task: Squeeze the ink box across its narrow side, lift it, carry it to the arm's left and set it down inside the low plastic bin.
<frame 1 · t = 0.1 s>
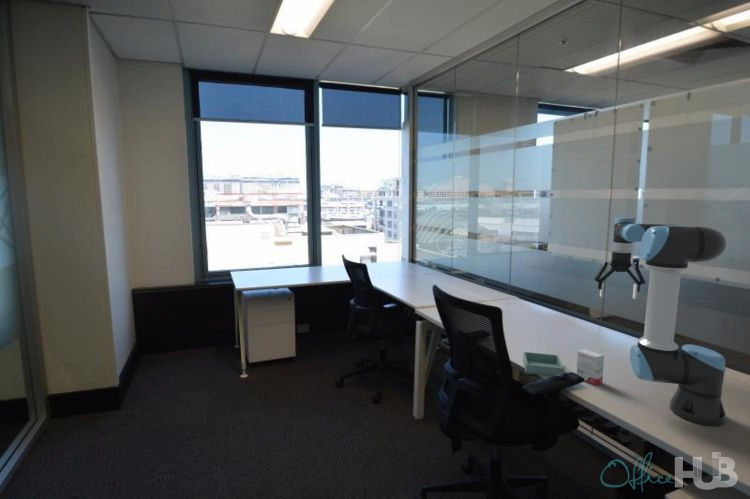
hand: (617, 297, 188), 28 cm above the table, fingers open, 13 cm apart
bin: (541, 368, 178), on the table
ink box: (588, 380, 167), on the table
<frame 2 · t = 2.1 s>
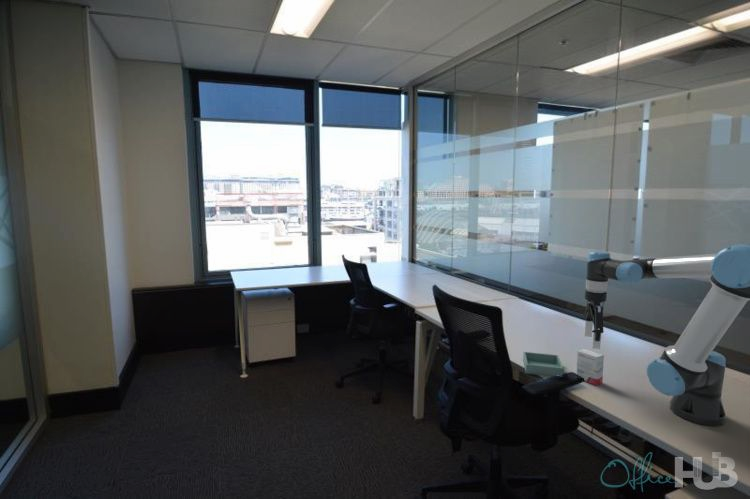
hand: (591, 342, 165), 16 cm above the table, fingers open, 13 cm apart
nothing on the table moved.
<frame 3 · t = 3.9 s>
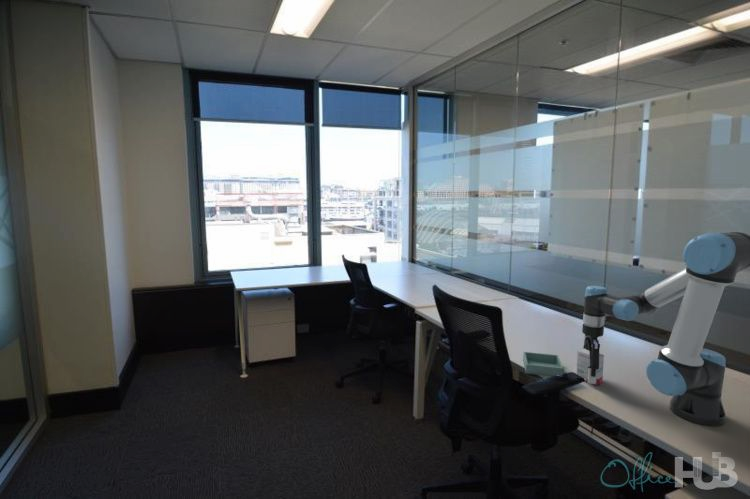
hand: (588, 378, 167), 1 cm above the table, fingers closed on ink box, 9 cm apart
ink box: (588, 380, 167), on the table, touching gripper
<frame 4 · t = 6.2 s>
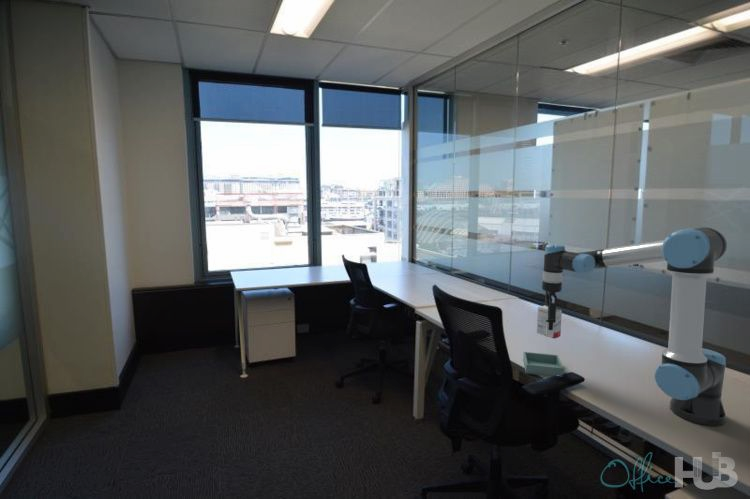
hand: (548, 332, 175), 16 cm above the table, fingers closed on ink box, 9 cm apart
ink box: (547, 335, 175), point 15 cm above the table, touching gripper
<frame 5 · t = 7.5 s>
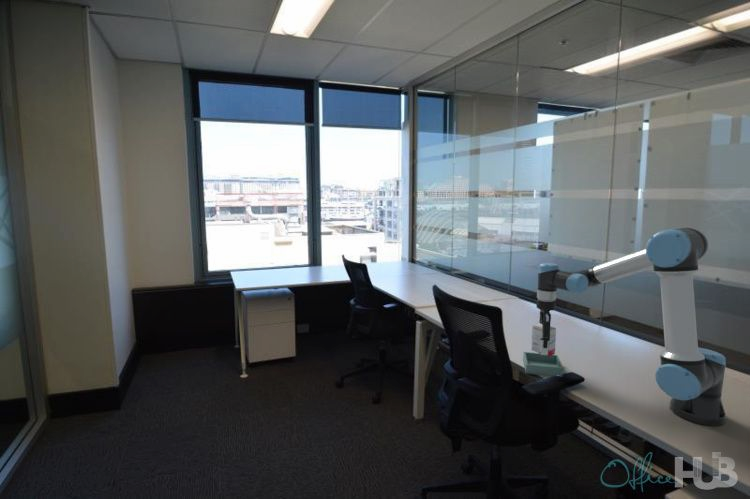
hand: (542, 350, 177), 8 cm above the table, fingers closed on ink box, 9 cm apart
ink box: (542, 352, 177), point 7 cm above the table, touching gripper
when the fingers open (4 cm above the table, at t = 8.6 s): ink box drops 3 cm, resting on bin.
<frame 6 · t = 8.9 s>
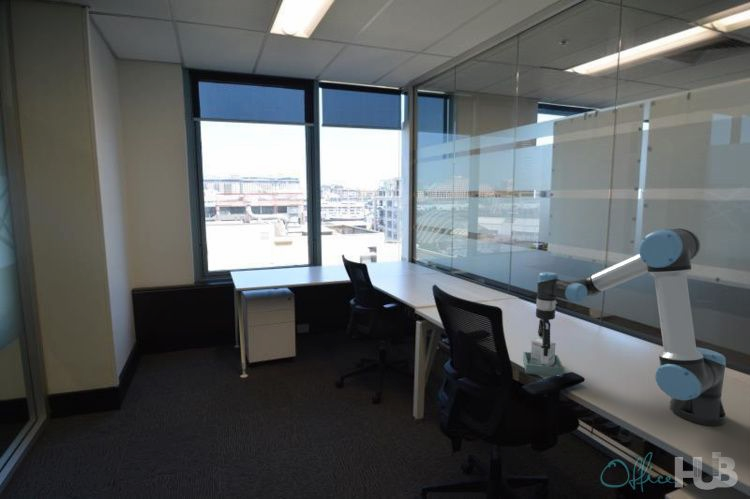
hand: (542, 356, 177), 5 cm above the table, fingers open, 13 cm apart
ink box: (542, 368, 178), resting on bin
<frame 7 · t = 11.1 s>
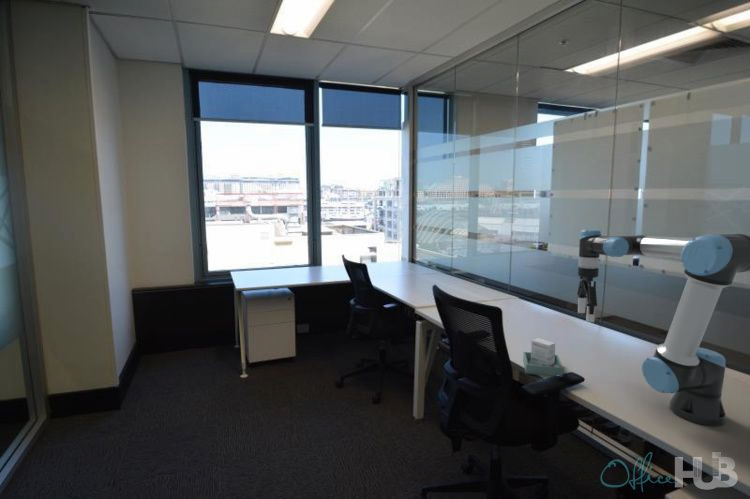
hand: (585, 317, 172), 24 cm above the table, fingers open, 13 cm apart
nothing on the table moved.
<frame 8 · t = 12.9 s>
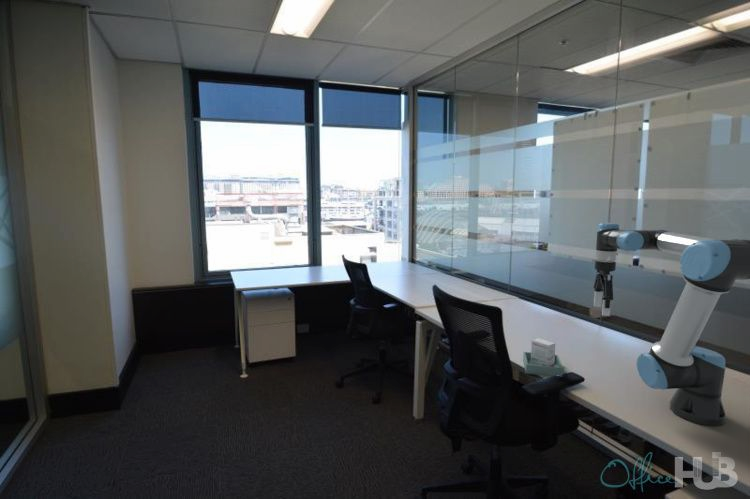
hand: (601, 310, 172), 27 cm above the table, fingers open, 13 cm apart
nothing on the table moved.
at the end: ink box inside the target area on the bin (0.7 cm from its centre), point 0.4 cm above the bin's base; the gripper is holding nothing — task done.
